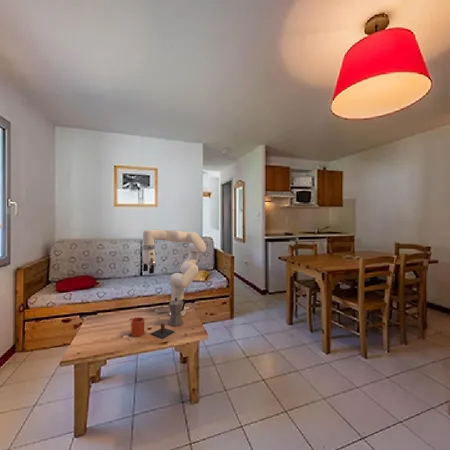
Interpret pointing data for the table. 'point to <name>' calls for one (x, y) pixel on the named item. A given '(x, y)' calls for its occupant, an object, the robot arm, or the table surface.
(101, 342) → the table surface
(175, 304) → the coffeepot
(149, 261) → the robot arm
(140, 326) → the cup
